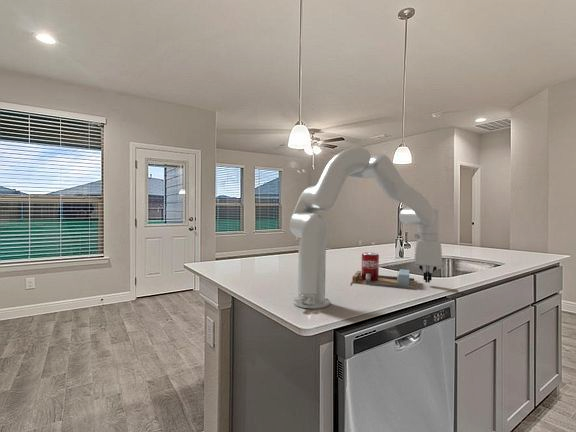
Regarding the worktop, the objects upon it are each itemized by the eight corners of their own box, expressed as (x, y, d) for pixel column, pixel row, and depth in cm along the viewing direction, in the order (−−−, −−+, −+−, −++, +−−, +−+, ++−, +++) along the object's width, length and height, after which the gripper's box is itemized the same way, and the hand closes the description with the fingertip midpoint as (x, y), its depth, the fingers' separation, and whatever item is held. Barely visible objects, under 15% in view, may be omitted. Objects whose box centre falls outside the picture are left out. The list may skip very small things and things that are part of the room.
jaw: (408, 287, 129) (408, 275, 128) (396, 286, 130) (397, 274, 130) (409, 281, 139) (409, 269, 139) (398, 280, 140) (398, 269, 140)
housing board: (416, 292, 125) (416, 279, 125) (350, 286, 135) (350, 273, 135) (416, 283, 140) (416, 271, 140) (357, 277, 150) (357, 266, 150)
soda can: (379, 283, 135) (379, 255, 135) (361, 282, 137) (362, 254, 136) (377, 279, 142) (378, 252, 142) (361, 278, 144) (361, 252, 143)
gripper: (408, 237, 130) (407, 282, 130) (449, 239, 124) (448, 286, 125) (409, 236, 137) (408, 278, 137) (447, 237, 131) (446, 281, 132)
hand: (427, 281), depth 131 cm, fingers closed
